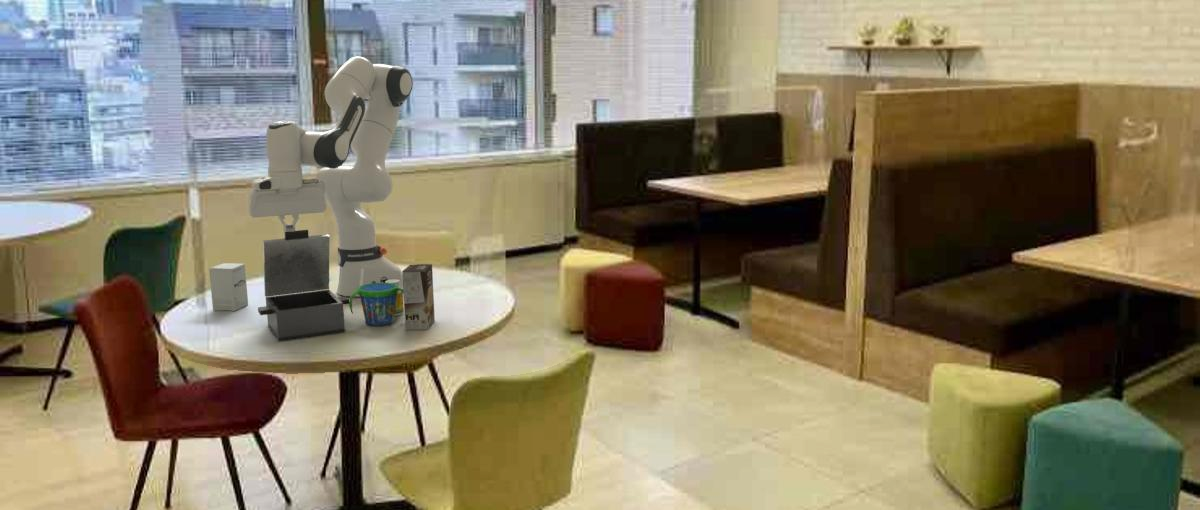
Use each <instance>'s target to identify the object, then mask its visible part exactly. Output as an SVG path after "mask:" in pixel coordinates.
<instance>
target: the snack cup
mask: <svg viewBox="0 0 1200 510" xmlns="http://www.w3.org/2000/svg"><path fill="white" fill-rule="evenodd" d="M399 290H401V291H402V292H403V289H402V288H400V287H398V286H397V285H395V284H392V283H371V284H366V285H362V286H360V287H359V288H358V289H357V290H356V291H354V292H353V293H352V295H351V296H349V304H348V306H349V310H350V312H351V314H352V315H353V314H354V311H353V298H354V297H355V296H354V295H355V294H359V295H360V297H359V298H360V302H361V307H362V311H363V315H364V321H365V324H367V325H369V326H376V327H377V326H383V325H390V324H392V323H393V322H394V319H395V316H394V312H395V301H396V296H397V292H398V291H399Z"/></svg>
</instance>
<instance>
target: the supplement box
mask: <svg viewBox="0 0 1200 510" xmlns="http://www.w3.org/2000/svg"><path fill="white" fill-rule="evenodd" d="M208 270H209V280H210V281H209V283H210V292H211V302H212V303H211V305H212V311H221V310H231V311H230V312H235V311H237V310H239V309H241V308H243V307H246V306H248V305H249V298H248V287H247V277H246V276H247V275H246V263H235V262H233V263H232V262H231V263H228V262H227V263H226V262H223V263H221V264H217V265H215V266H212V267H209V269H208Z"/></svg>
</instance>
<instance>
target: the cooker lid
mask: <svg viewBox="0 0 1200 510" xmlns="http://www.w3.org/2000/svg"><path fill="white" fill-rule="evenodd" d="M283 233H284V238H276V239H275V238H274V239H265V240H262V245H263V246H262V250H263V254H262V255H263V278H264V279H263V280H264V281H263V282H264V283H263V284H264V287H263V288H264V296H265V298H266V297H272V296H280V295H288V294H297V293H305V292H313V291H321V290H330V234H329V233H327V234H317V235H315V234H314V235H309V230H308V229H302V230H295V231H287V232H284V231H283Z"/></svg>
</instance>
